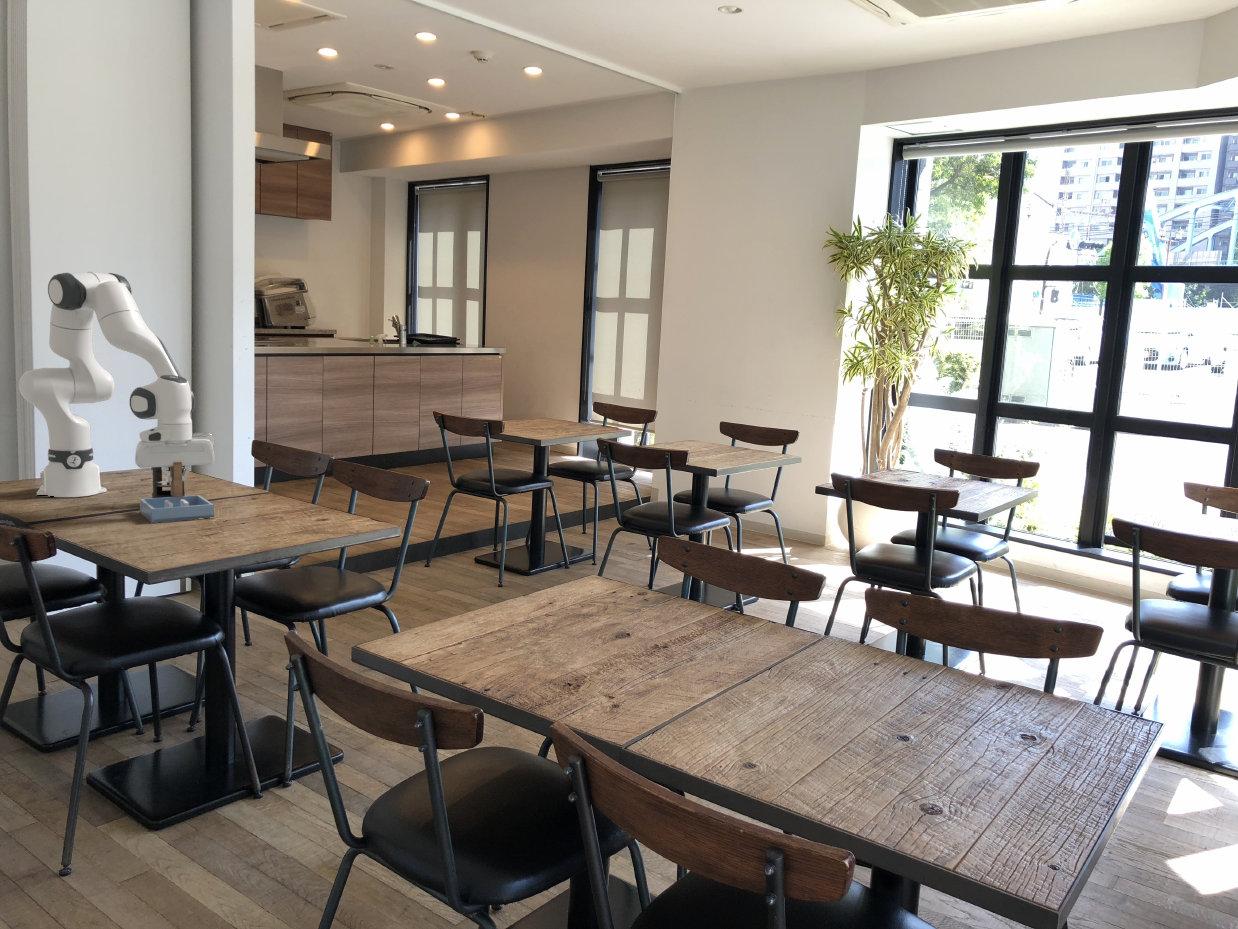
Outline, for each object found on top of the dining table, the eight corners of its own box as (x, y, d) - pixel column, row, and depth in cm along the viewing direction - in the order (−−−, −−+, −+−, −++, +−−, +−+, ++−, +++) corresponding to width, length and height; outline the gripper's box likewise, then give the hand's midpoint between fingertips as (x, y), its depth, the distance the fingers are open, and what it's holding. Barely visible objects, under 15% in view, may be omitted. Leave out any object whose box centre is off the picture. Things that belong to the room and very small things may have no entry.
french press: (143, 503, 278) (141, 427, 274) (171, 499, 286) (170, 425, 282) (167, 508, 272) (165, 431, 269) (196, 504, 280) (194, 429, 277)
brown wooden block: (170, 494, 264) (169, 460, 263) (178, 494, 265) (177, 459, 264) (174, 497, 260) (174, 462, 259) (182, 497, 261) (181, 462, 260)
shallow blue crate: (140, 512, 265) (139, 499, 264) (199, 508, 275) (199, 495, 274) (152, 523, 253) (152, 509, 252) (214, 518, 262) (213, 504, 262)
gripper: (211, 431, 269) (211, 477, 271) (133, 433, 256) (134, 482, 258) (217, 433, 264) (217, 481, 266) (137, 435, 252) (139, 485, 253)
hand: (176, 481), depth 262 cm, fingers closed on brown wooden block, 2 cm apart
